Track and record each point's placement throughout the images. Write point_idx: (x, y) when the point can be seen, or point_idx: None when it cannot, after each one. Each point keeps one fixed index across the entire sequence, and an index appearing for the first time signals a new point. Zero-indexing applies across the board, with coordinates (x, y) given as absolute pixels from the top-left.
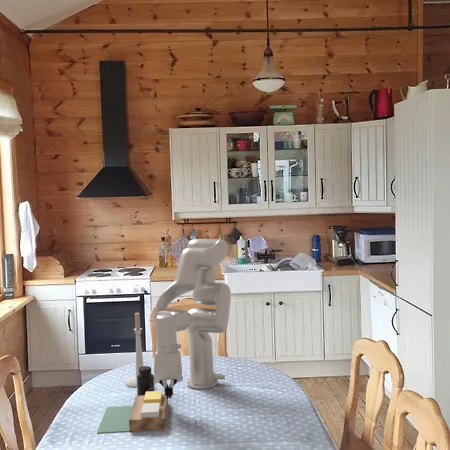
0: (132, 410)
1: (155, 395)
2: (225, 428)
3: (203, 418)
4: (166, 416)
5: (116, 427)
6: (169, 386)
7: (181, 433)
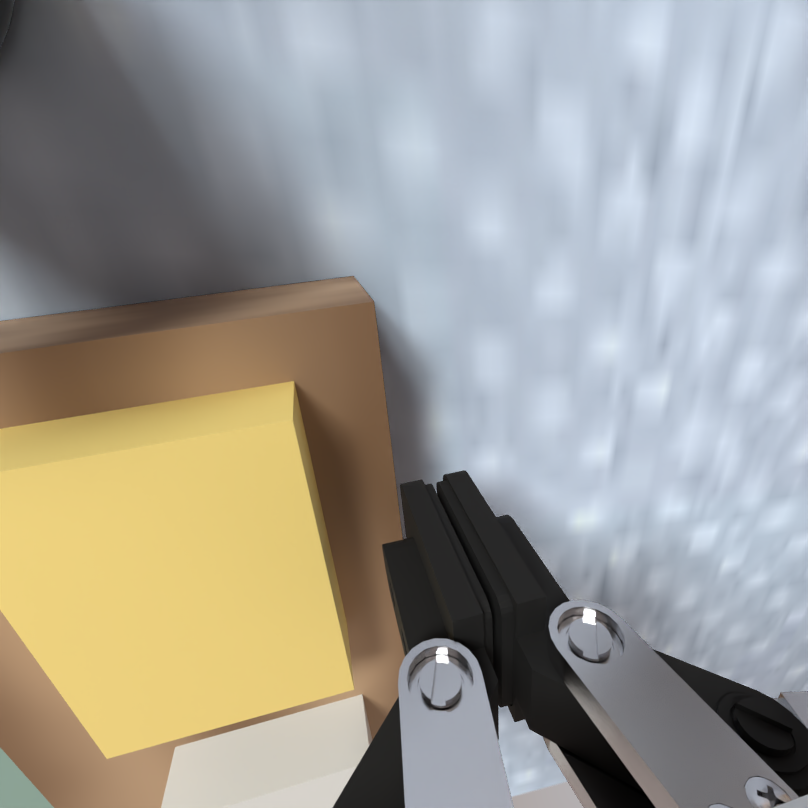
0: (57, 796)
1: (234, 615)
2: (739, 631)
3: (658, 544)
4: None
5: (20, 788)
6: (529, 714)
7: (513, 720)
